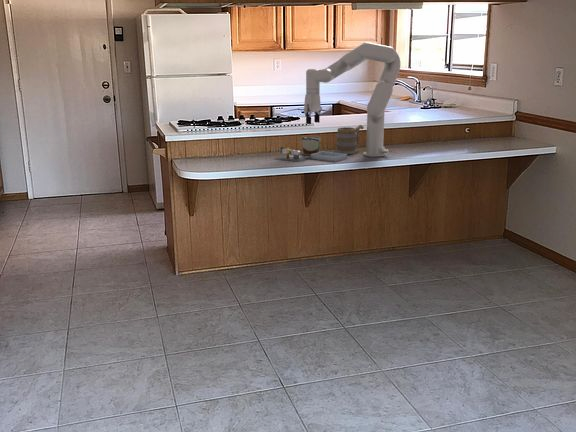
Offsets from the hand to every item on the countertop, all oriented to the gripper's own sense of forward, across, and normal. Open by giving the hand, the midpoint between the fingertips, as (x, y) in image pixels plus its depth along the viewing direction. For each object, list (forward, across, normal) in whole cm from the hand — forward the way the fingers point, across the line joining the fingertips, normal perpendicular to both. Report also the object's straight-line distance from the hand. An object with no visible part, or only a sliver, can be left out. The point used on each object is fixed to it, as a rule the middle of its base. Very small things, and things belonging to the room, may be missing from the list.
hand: (312, 122), depth 344 cm
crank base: (+18, +18, +2) cm, 25 cm away
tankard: (+18, -19, +14) cm, 30 cm away
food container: (+18, 0, 0) cm, 18 cm away
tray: (+18, +7, +16) cm, 25 cm away
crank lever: (+17, +18, -2) cm, 25 cm away
